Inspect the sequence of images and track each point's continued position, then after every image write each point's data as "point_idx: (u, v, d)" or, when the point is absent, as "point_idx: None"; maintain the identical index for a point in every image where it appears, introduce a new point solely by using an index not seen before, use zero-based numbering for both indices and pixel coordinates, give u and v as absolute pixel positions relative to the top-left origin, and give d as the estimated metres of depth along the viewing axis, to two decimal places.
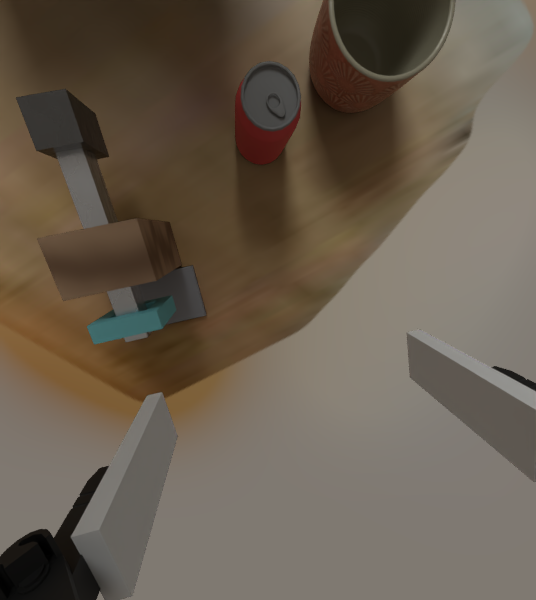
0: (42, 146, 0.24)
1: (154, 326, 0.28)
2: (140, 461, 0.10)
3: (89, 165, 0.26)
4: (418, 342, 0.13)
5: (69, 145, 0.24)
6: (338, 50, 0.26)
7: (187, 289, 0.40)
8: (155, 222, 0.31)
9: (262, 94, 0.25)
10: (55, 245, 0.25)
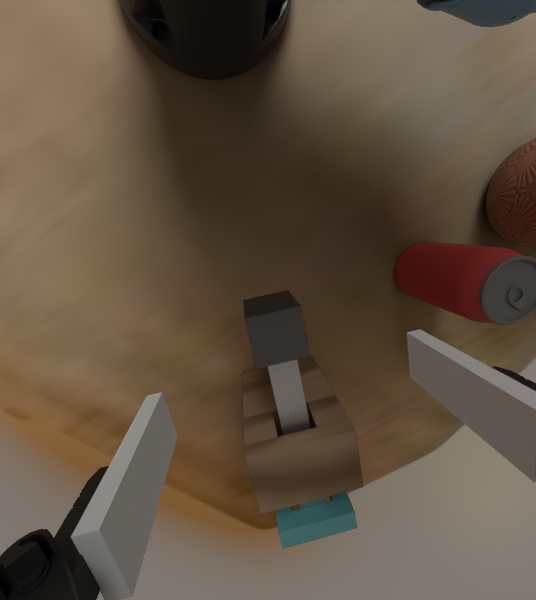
0: (263, 364, 0.20)
1: (349, 526, 0.25)
2: (140, 461, 0.10)
3: (297, 365, 0.22)
4: (418, 342, 0.13)
5: (291, 359, 0.20)
6: None
7: None
8: None
9: (503, 288, 0.22)
10: (263, 463, 0.22)
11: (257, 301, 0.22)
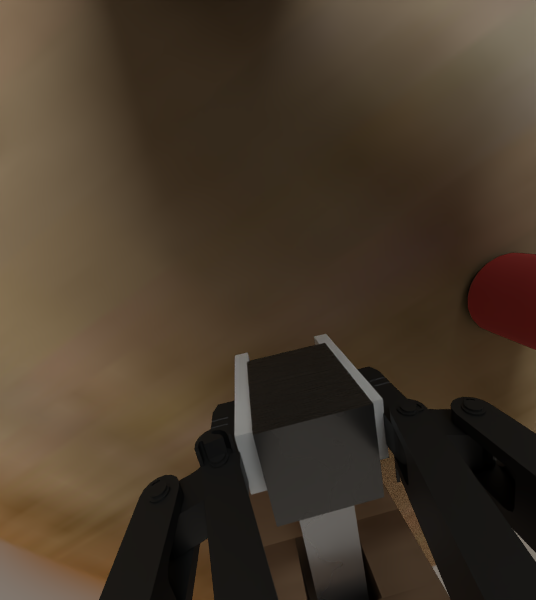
0: (291, 517, 0.10)
1: None
2: None
3: None
4: None
5: (346, 501, 0.10)
6: None
7: None
8: None
9: None
10: None
11: (273, 370, 0.12)
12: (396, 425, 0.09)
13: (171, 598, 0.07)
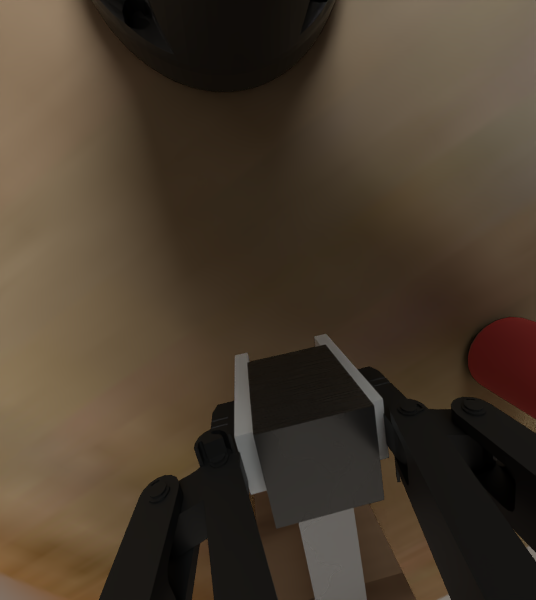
0: (291, 519, 0.10)
1: None
2: None
3: None
4: (319, 345, 0.15)
5: (346, 503, 0.10)
6: None
7: None
8: None
9: None
10: None
11: (274, 372, 0.12)
12: (396, 425, 0.09)
13: (171, 598, 0.07)
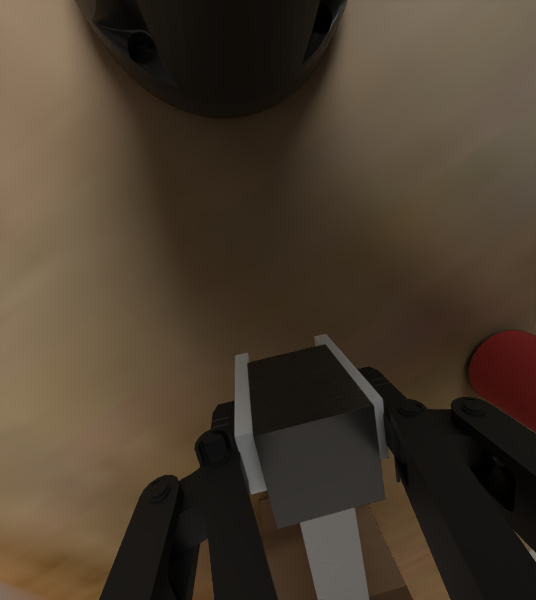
0: (291, 519, 0.10)
1: None
2: None
3: None
4: None
5: (347, 503, 0.10)
6: None
7: None
8: (396, 565, 0.19)
9: None
10: None
11: (274, 372, 0.12)
12: (396, 425, 0.09)
13: (171, 598, 0.07)
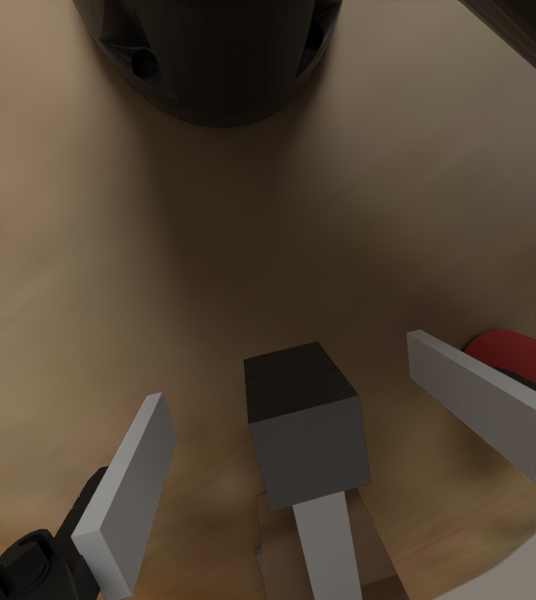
0: (284, 502, 0.10)
1: None
2: (140, 461, 0.10)
3: None
4: (418, 342, 0.13)
5: (335, 487, 0.11)
6: None
7: None
8: (387, 555, 0.20)
9: None
10: None
11: (269, 367, 0.13)
12: None
13: None
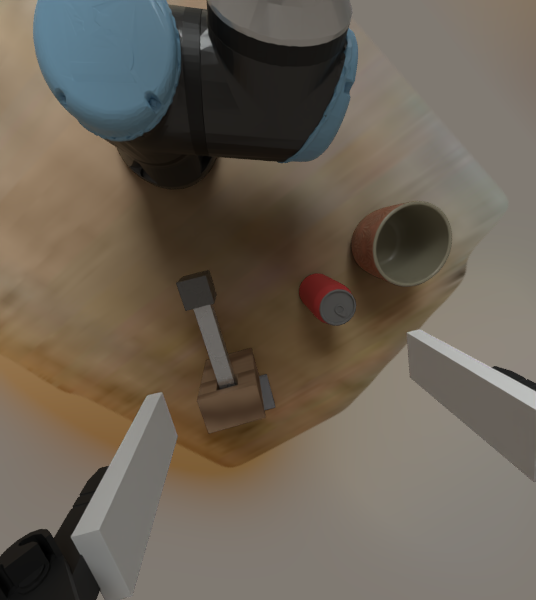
0: (189, 308, 0.37)
1: None
2: (140, 461, 0.10)
3: (212, 311, 0.39)
4: (418, 342, 0.13)
5: (204, 305, 0.38)
6: (378, 272, 0.41)
7: (263, 391, 0.55)
8: (254, 366, 0.46)
9: (332, 306, 0.40)
10: (207, 403, 0.41)
11: (189, 276, 0.40)
12: None
13: None
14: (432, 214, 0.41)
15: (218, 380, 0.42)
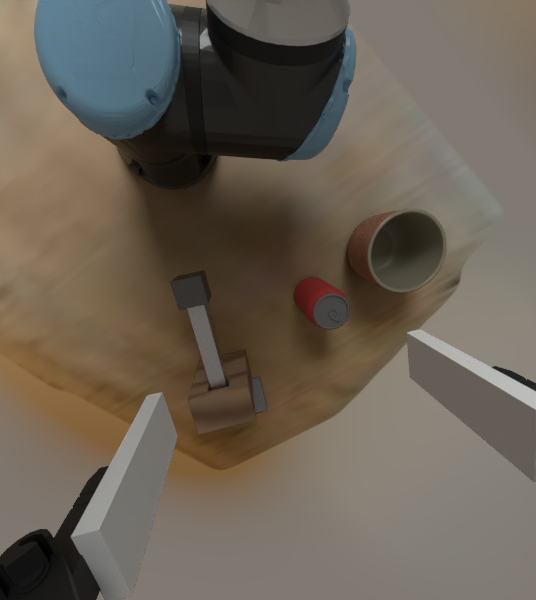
0: (182, 307, 0.37)
1: None
2: (140, 461, 0.10)
3: (206, 311, 0.39)
4: (418, 342, 0.13)
5: (198, 305, 0.38)
6: (372, 277, 0.41)
7: (255, 393, 0.55)
8: (246, 368, 0.46)
9: (326, 310, 0.41)
10: (198, 404, 0.40)
11: (184, 275, 0.40)
12: None
13: None
14: (427, 222, 0.41)
15: (210, 381, 0.42)
